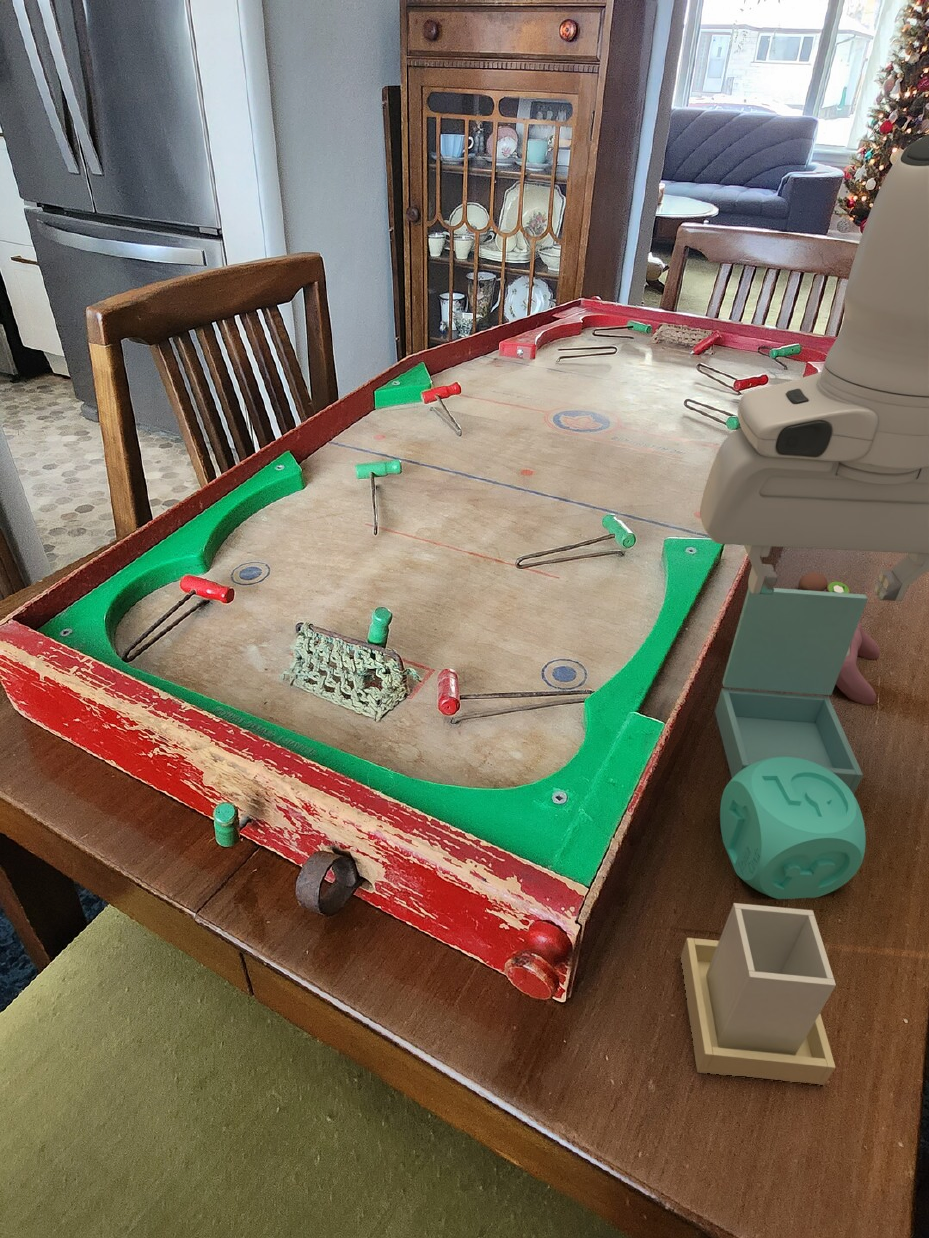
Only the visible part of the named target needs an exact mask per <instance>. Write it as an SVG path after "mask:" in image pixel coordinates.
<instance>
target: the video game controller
mask: <svg viewBox="0 0 929 1238" xmlns="http://www.w3.org/2000/svg"><path fill="white" fill-rule="evenodd" d="M880 655H881V651H880V648H879V645H878V643H877V642H876V641H875V640H874V639H873V637H871V636H870V634H868V633H867V632H866V630H865V629H864V628H863V626H862V624H861V622H859V623H858V626H857V629H856V631H855V634H854V636H853V639H852V642H851V644H850V647H849V650H848V652H847V655H846V658H845V660H844V663H843V665H842V668H841V671H840V673H839V676H838V679H837V681H836V684H835V686H836V687H837V688H838V689H839V691H841V693H842V694H844V695H845V696H846V697H847V698H848V699H849V700H852V701H853V702H855V703H859V704H862V705H866V706H872V705H874V704H875V703H876V701H877V694H876V692H875V690H874V688H873V686H872V685H871V684H870V683H869V681H867V679H866V678H865V677H864V675H863V674H862V673H861V672H860V669H859V668H858V665H857V661H858V657H860V658H864V659H869V660H878V659H879V658H880Z"/></svg>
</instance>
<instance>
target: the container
mask: <svg viewBox="0 0 929 1238" xmlns="http://www.w3.org/2000/svg"><path fill="white" fill-rule="evenodd" d="M718 941H719V943H718V945H717V948H716V950H715V953H714V955H713V958H712V961H711V963H710V966H709V968H708V971H707V973H706V978H707V984H708V990H709V996H710V1001H711V1007H712V1013H713V1019H714V1025H715V1031H716V1036H717V1042H718V1047H723V1048H733V1049H743V1050H752V1051H762V1052H771V1053H781V1054H791V1055H796V1054H797V1052H798V1050H799V1049H800V1047H801V1045H802V1043H803V1042H804V1040H805V1038H806V1037H807V1035H808V1033H809V1031H810V1030H811V1028H812V1026H813V1024H814V1023H815V1021H816V1019H817V1017H818V1016H819V1014H821V1013H822V1011H823V1009H824V1007H825V1006H826V1004H827V1002H828V1000H829V998H830V996H831V995H832V993H833V991H834V990H835V988H836V986H837V984H836V981H835V977H834V974H833V971H832V968H831V964H830V960H829V957H828V955H827V952H826V948H825V945H824V942H823V939H822V935H821V932H820V929H819V926H818V923H817V920H816V916H815V913H814V910H812V909H803V908H792V907H782V906H781V907H780V906H769V905H759V904H750V903H737V902H733V904H732V906H731V909H730V912H729V915H728V917H727V920H726V922H725V925H724V927H723V930H722V932H721V935H720V938H719V940H718Z"/></svg>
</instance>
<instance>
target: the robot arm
mask: <svg viewBox="0 0 929 1238" xmlns="http://www.w3.org/2000/svg"><path fill="white" fill-rule="evenodd" d="M843 301H844V303H843V304H844V312H843V320H842V323H841V327H840V330H839V332H838V335H837V337H836V339H835V341H834V342H833V344H832V345H831V347H830V348H829V350H828V352H827V354H826V356H825V359H824V363H823V367H822V370H821V371H819V372H816V373H812V374H809V375H806V376H802V377H800V378H796V379H793V380H789V381H784V382H780V383H778V384H774V385H770V386H764V387H761V388H757V389H753V390H750V391H748V392H746V393H744V394H743V395H742V396H741V397H740V400H739V402H738V407H737V419H738V423H739V426H740V428H738V429H736V430H733V431H732V432H731V433H730V434H729V435H728V436H727V437H726V438H725V439H724V440H723V441H722V443H721V444H720V446H719V448H718V450H717V453H716V455H715V458H714V460H713V463H712V465H711V468H710V471H709V474H708V477H707V480H706V483H705V486H704V490H703V493H702V498H701V502H700V507H699V516H700V520H701V524H702V526H703V529H704V531H705V532H706V534H707V536H708V537H709V538H710V539H711V541H712V542H713V543H715V544H718V545H738V546H743V548H744V549H745V552H746V554H747V557H748V560H749V562H750V564H751V568H750V572H749V576H748V579H747V581H748V582H747V584H748V585H747V586H748V587H749V588H750V591H751V593H752V594H771V595H772V594H773V592H774V588H775V586H776V584H777V582H778V578H779V576H778V574H777V572H776V571H775V568H774V566H773V564H767V563H763V562H762V559H761V558H767V557H769V556H770V553H771V550H772V547H776V548H797V549H815V550H837V551H858V552H875V553H876V552H879V553H895V554H896V553H897V554H898V553H899V554H907V555H905V557H903V558H902V559H901V560H900V561H899V562H898V563H897V564H896V565H895V566H894V567H893V568H892V569H891V570H886V569H880V570H879V573H878V576H877V579H878V580H877V581H876V582H875V583H874V585H873V586H874V587H873V592H874V593H875V595H876V596H878V597H877V598H878V600H879V601H887V602H888V601H891V602H902V601H903V600H904V598H905V595H906V593H907V591H908V588H909V586H910V585H911V584H913V583H915V582H916V581H917V580H918V579H919V578H921V577H922V576H923V575H925V574H926V573H927V572H928V571H929V133H928V134H925V135H923V136H921V138H918V139H917V140H915V141H913V142H912V143H909V144H908V145H907V146H906V147H905V148H904V149H903V150H902V151H901V153H900V154H899V155H898V156H897V158H896V159H895V161H894V163H893V164H892V166H891V167H890V169H889V170H888V172H887V174H886V176H885V178H884V180H883V182H882V183H881V186H880V187H879V190H878V192H877V194H876V197H875V199H874V202H873V203H872V206H871V209H870V211H869V214H868V216H867V219H866V222H865V225H864V227H863V230H862V233H861V235H860V239H859V243H858V245H857V249H856V252H855V255H854V258H853V262H852V264H851V269H850V272H849V275H848V279H847V282H846V286H845V290H844V300H843Z"/></svg>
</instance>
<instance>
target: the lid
mask: <svg viewBox="0 0 929 1238" xmlns="http://www.w3.org/2000/svg"><path fill="white" fill-rule="evenodd" d="M773 588H774V592H773V594H772V595H771V594H752V593H751V591H750V588H749V586H748V588H747V590H746V594H745V598H744V602H743V606H742V609H741V613H740V616H739V619H738V624H737V626H736V631H735V635H734V638H733V640H732V641H733V642H732V645H731V649H730V653H729V656H728V659H727V664H726V667H725V670H724V674H723V678H722V681H721V684H722V688H723V687H724V688H730V689H743V690H755V691H768V692H781V693H793V694H806V695H819V696H832V694H833V691H834V689H835V686H836V681H837V679H838V676H839V673H840V671H841V668H842V665H843V663H844V660H845V658H846V655H847V652H848V650H849V647H850V644H851V642H852V639H853V636H854V634H855V631H856V629H857V626H858V623H860V620H861V618H862V615H863V612H864V610H865V607H866V604H867V602H868V599H869V598H868V596H867V594H861V593H851V592H850V593H836V592H826V591H823V592H822V591H808V590H800V589H795V588H794V589H793V588H780V587H773Z"/></svg>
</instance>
